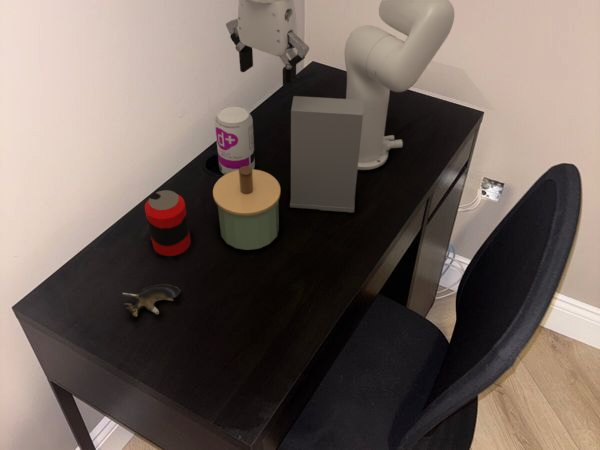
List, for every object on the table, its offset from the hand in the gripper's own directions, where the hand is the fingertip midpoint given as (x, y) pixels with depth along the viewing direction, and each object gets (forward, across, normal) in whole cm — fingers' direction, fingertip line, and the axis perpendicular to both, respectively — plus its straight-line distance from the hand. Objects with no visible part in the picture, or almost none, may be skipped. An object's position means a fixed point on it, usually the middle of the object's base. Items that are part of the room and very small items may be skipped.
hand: (267, 76), depth 112 cm
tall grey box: (+31, -10, -6) cm, 33 cm away
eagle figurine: (+31, 0, +37) cm, 48 cm away
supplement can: (+31, +13, -4) cm, 33 cm away
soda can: (+31, +8, +23) cm, 39 cm away
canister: (+30, -2, +11) cm, 32 cm away
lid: (+20, -2, +11) cm, 23 cm away
